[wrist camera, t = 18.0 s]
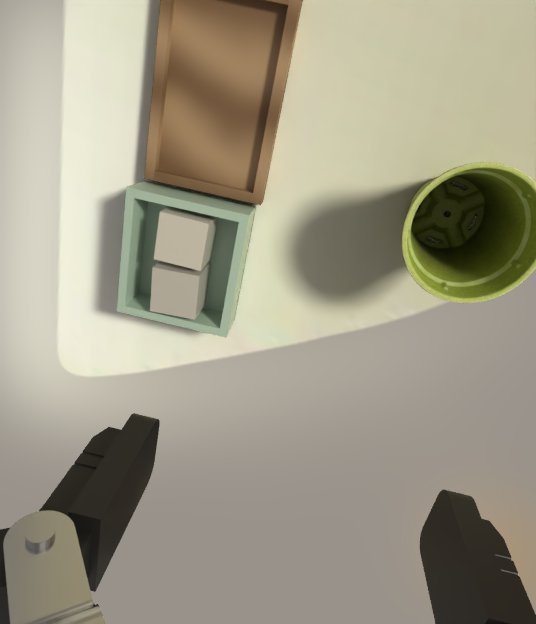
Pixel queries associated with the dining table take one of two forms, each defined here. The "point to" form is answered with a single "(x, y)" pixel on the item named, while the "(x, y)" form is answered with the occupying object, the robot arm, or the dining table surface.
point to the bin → (140, 259)
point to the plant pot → (472, 233)
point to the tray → (219, 93)
